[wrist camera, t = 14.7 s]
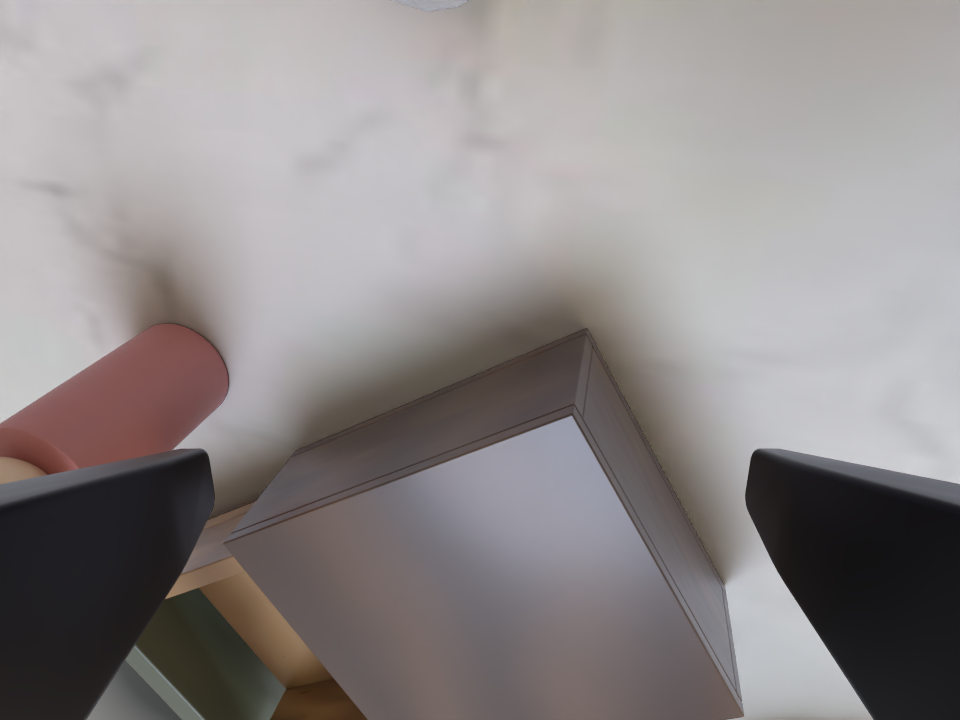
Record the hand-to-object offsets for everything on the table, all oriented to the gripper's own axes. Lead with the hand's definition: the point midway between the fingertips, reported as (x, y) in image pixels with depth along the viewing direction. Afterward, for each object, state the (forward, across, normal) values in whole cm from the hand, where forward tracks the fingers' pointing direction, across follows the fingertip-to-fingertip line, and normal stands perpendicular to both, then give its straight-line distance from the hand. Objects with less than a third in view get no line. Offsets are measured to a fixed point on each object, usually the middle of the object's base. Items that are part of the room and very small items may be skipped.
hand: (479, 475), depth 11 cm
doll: (+15, -12, -4) cm, 20 cm away
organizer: (+13, +1, -10) cm, 16 cm away
